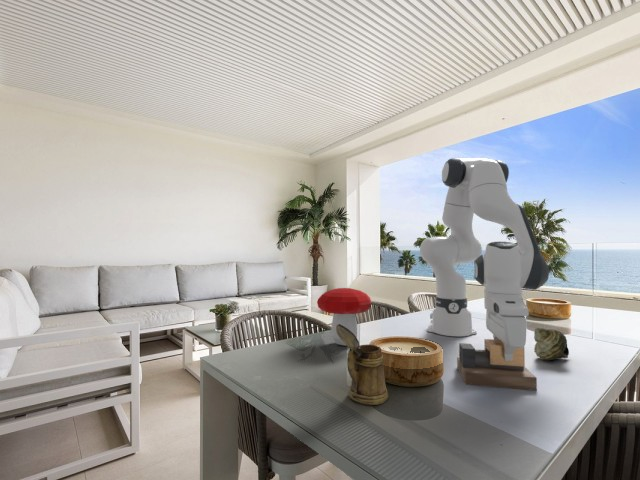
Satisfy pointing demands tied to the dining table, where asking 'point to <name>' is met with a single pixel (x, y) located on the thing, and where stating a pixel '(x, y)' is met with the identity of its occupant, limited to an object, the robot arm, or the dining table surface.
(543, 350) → the seashell
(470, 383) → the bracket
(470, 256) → the robot arm
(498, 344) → the slotted cardboard block
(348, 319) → the mushroom
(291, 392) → the dining table surface
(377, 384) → the wooden mug
